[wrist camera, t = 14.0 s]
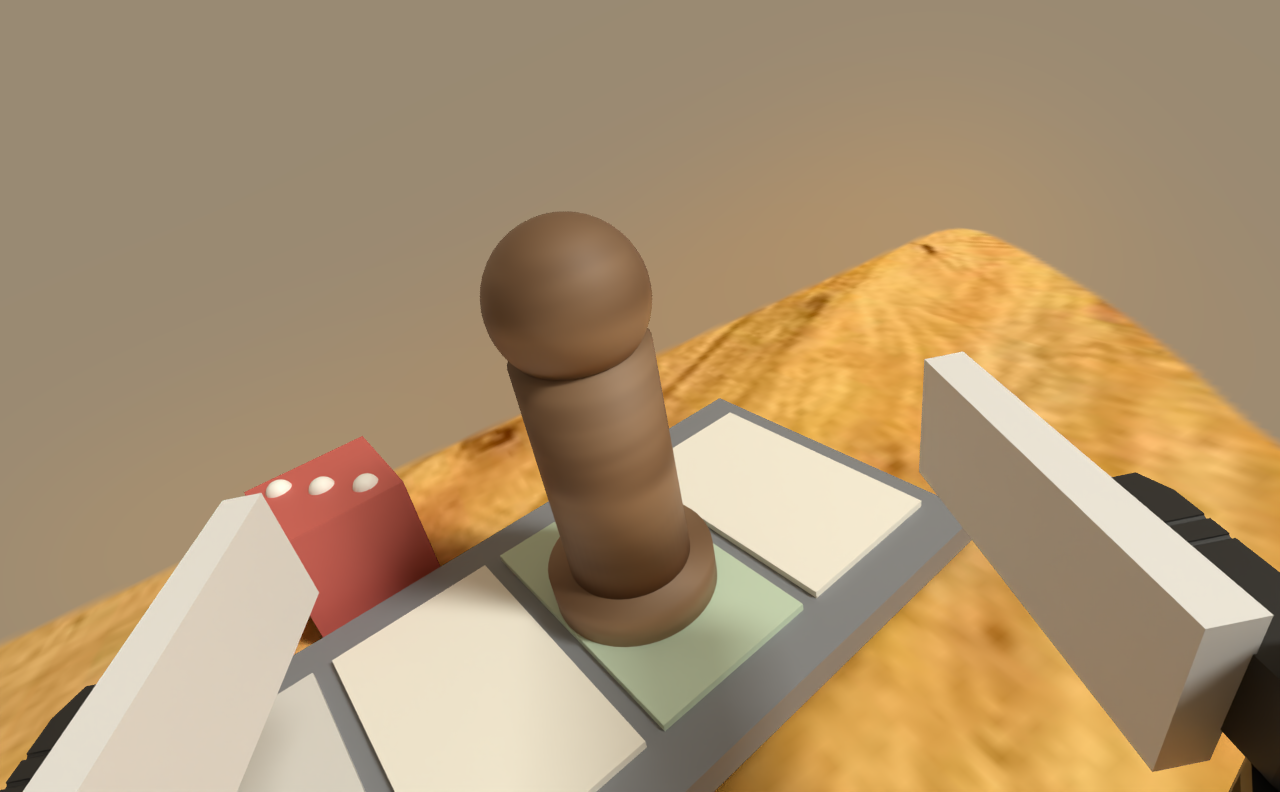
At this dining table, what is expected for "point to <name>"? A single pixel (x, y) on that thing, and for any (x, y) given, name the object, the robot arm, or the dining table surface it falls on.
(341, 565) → the red die
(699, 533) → the pawn
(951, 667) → the dining table surface
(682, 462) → the game board
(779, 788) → the dining table surface
